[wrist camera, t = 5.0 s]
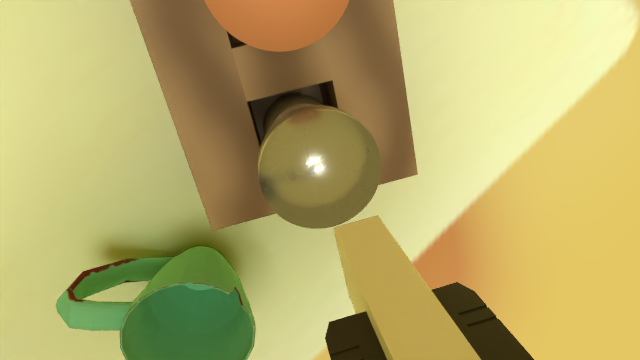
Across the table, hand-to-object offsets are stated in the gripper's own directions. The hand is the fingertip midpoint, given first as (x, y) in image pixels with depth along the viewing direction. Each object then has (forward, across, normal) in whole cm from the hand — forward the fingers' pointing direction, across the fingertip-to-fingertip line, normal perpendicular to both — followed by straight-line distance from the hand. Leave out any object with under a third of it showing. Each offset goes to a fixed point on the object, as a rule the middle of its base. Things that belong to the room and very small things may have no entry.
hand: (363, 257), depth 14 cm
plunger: (+19, 0, 0) cm, 19 cm away
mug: (+25, -14, -12) cm, 31 cm away
